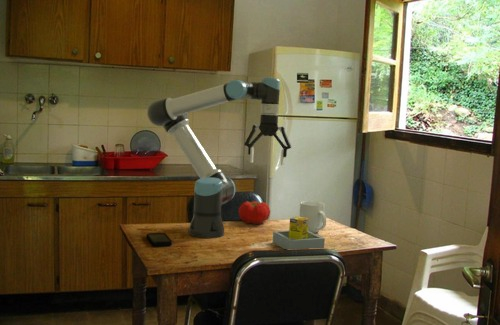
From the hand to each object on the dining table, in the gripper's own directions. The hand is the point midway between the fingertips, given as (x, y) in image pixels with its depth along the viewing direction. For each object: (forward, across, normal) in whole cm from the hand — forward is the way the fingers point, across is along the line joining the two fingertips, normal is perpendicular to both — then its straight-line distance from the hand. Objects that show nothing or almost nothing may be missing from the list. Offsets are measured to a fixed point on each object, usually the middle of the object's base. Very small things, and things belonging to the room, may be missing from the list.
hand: (266, 163), depth 238 cm
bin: (+31, +18, -15) cm, 39 cm away
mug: (+31, +20, +12) cm, 39 cm away
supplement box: (+30, +18, -15) cm, 38 cm away
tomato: (+31, -9, +19) cm, 37 cm away
